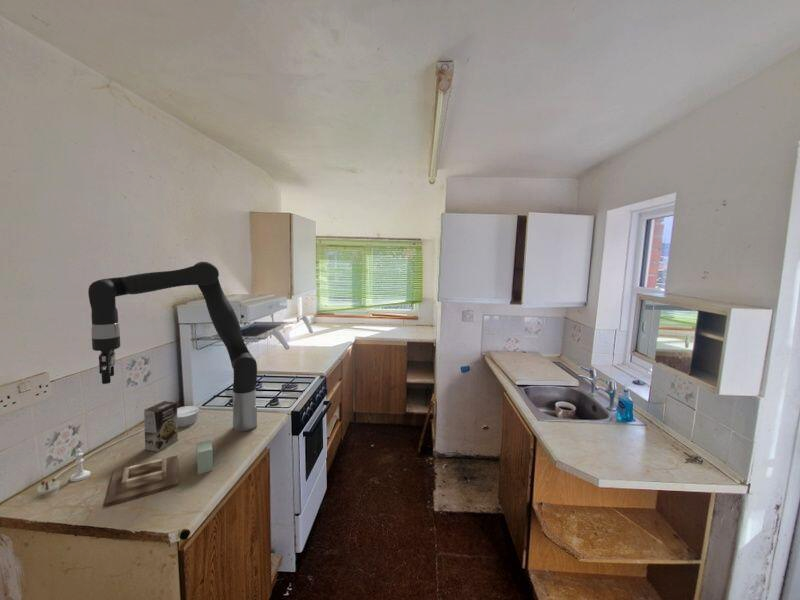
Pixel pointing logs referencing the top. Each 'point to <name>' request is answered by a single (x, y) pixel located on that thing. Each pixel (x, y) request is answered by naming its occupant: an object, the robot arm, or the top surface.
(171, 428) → the coffee box
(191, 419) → the ramekin
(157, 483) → the board
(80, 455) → the chess piece
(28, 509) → the top surface
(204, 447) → the key block
